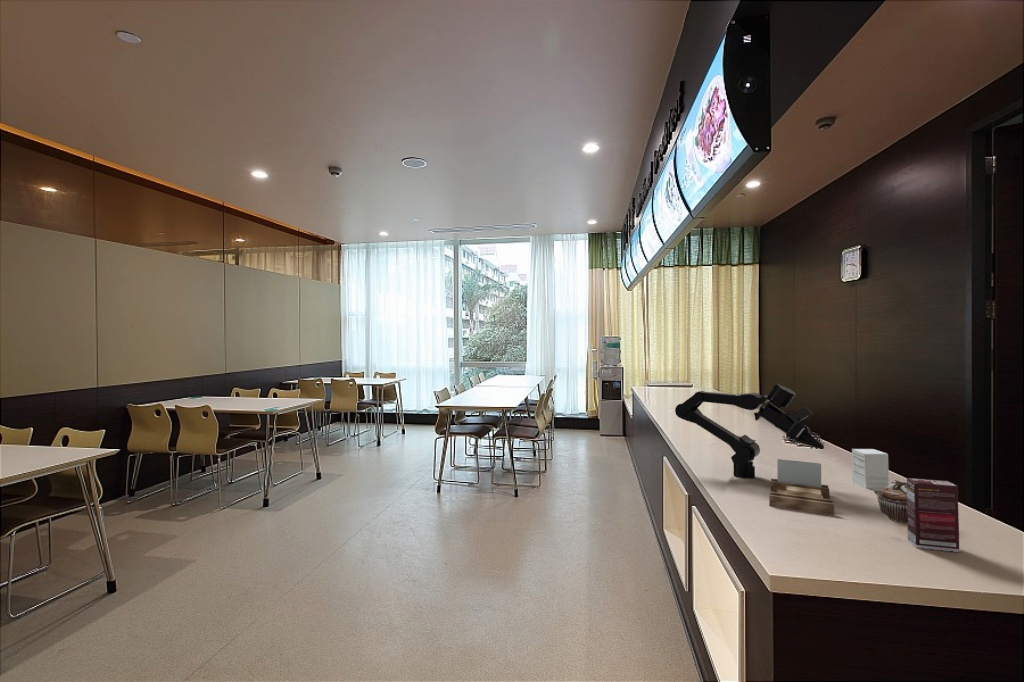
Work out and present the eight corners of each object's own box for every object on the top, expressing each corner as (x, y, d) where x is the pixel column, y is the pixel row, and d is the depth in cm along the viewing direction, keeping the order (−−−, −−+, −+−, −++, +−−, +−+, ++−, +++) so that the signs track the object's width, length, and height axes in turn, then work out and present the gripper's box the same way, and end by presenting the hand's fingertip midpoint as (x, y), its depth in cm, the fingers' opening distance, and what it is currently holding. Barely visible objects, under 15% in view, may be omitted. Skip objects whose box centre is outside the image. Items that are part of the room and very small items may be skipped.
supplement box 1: (874, 485, 163) (874, 448, 163) (889, 492, 155) (889, 453, 155) (851, 484, 163) (851, 448, 163) (865, 491, 156) (865, 453, 156)
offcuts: (777, 499, 146) (777, 488, 146) (777, 494, 151) (777, 484, 151) (823, 505, 140) (823, 494, 140) (822, 500, 145) (822, 490, 145)
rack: (769, 508, 141) (769, 495, 141) (771, 490, 158) (770, 478, 158) (834, 518, 133) (834, 504, 133) (828, 497, 150) (828, 485, 150)
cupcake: (880, 508, 140) (880, 475, 140) (923, 517, 134) (923, 482, 134) (874, 517, 134) (874, 482, 134) (919, 526, 127) (919, 489, 127)
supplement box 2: (948, 544, 116) (948, 480, 116) (960, 553, 111) (959, 486, 111) (905, 540, 119) (905, 477, 118) (915, 548, 114) (914, 482, 114)
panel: (777, 490, 155) (777, 460, 155) (777, 489, 156) (777, 459, 156) (821, 496, 149) (821, 464, 149) (821, 494, 150) (820, 463, 150)
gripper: (790, 396, 155) (839, 427, 146) (795, 402, 170) (839, 430, 161) (768, 423, 157) (815, 455, 148) (775, 426, 172) (818, 455, 163)
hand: (823, 448), depth 155 cm, fingers open, 9 cm apart
